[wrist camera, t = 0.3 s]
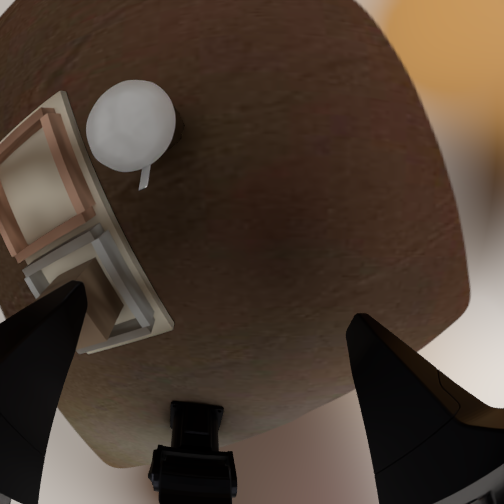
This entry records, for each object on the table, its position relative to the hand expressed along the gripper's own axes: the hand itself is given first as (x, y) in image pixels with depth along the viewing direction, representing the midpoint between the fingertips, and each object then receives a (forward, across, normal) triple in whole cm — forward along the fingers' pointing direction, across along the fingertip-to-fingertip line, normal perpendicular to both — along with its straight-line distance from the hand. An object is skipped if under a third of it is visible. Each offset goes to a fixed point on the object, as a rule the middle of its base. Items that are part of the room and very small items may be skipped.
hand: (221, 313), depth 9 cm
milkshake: (+15, +5, -3) cm, 16 cm away
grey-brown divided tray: (+14, +13, +6) cm, 20 cm away
